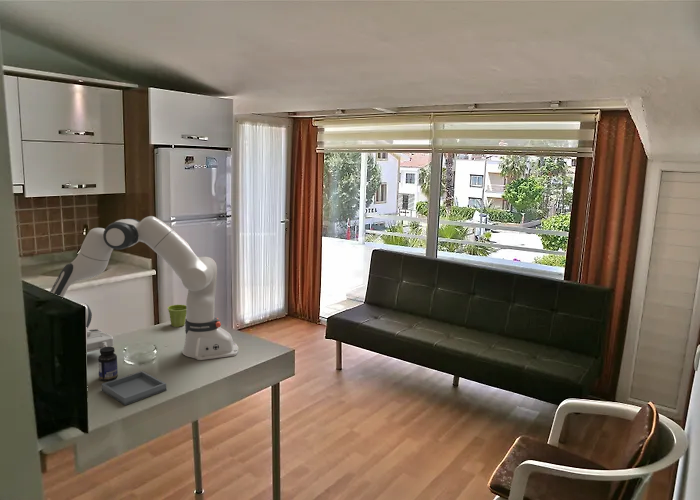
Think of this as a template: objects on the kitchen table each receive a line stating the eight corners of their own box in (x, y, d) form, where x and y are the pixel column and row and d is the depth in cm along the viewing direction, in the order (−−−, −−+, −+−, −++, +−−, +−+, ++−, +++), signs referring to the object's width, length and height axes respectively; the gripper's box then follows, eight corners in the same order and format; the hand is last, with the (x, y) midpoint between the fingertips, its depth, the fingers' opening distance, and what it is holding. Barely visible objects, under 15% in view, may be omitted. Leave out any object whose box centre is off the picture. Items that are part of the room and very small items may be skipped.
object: (190, 321, 247) (189, 304, 246) (186, 328, 238) (186, 310, 236) (169, 321, 246) (169, 304, 244) (165, 328, 237) (165, 310, 235)
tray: (142, 377, 186) (142, 370, 185) (166, 390, 177) (166, 383, 176) (101, 390, 174) (101, 383, 174) (125, 405, 165) (124, 398, 165)
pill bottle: (120, 374, 187) (119, 346, 185) (112, 382, 181) (111, 352, 179) (104, 373, 187) (103, 345, 185) (95, 380, 181) (94, 351, 179)
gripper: (48, 339, 191) (62, 350, 182) (104, 328, 206) (119, 337, 197) (49, 355, 192) (63, 367, 183) (104, 342, 208) (120, 352, 199)
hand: (93, 351), depth 191 cm, fingers open, 8 cm apart
